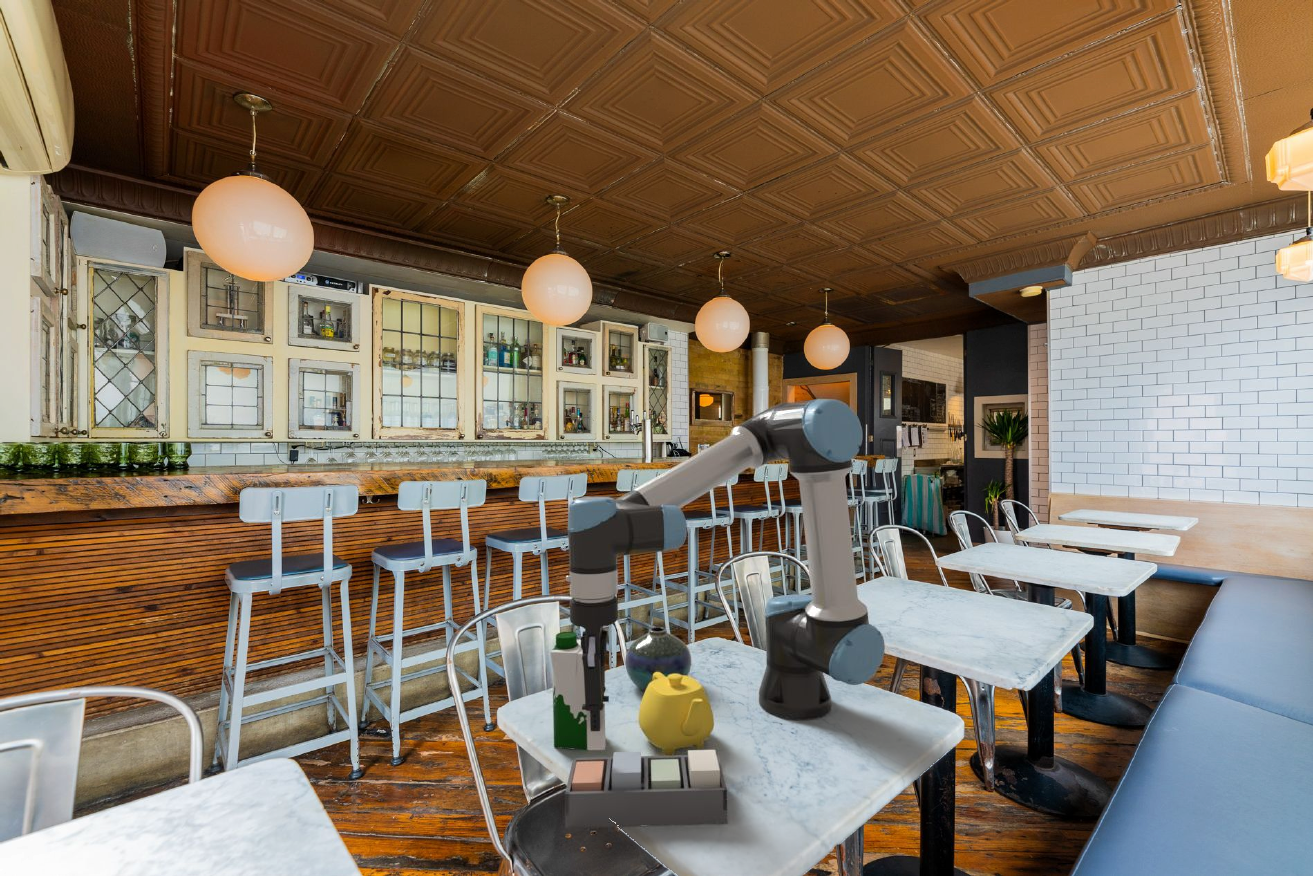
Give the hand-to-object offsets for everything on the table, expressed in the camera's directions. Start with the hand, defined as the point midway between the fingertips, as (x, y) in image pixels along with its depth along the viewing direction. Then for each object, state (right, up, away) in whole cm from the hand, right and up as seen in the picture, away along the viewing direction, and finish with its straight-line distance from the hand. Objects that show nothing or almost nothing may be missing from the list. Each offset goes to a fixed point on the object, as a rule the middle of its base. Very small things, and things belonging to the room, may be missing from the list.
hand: (596, 747), depth 92 cm
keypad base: (+8, -9, 0) cm, 12 cm away
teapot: (+13, -9, +19) cm, 25 cm away
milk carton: (-6, -10, +21) cm, 23 cm away
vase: (+10, -10, +45) cm, 47 cm away
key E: (-1, -7, 0) cm, 7 cm away
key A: (+17, -5, 0) cm, 18 cm away
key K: (+5, -5, 0) cm, 7 cm away
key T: (+11, -7, 0) cm, 13 cm away
